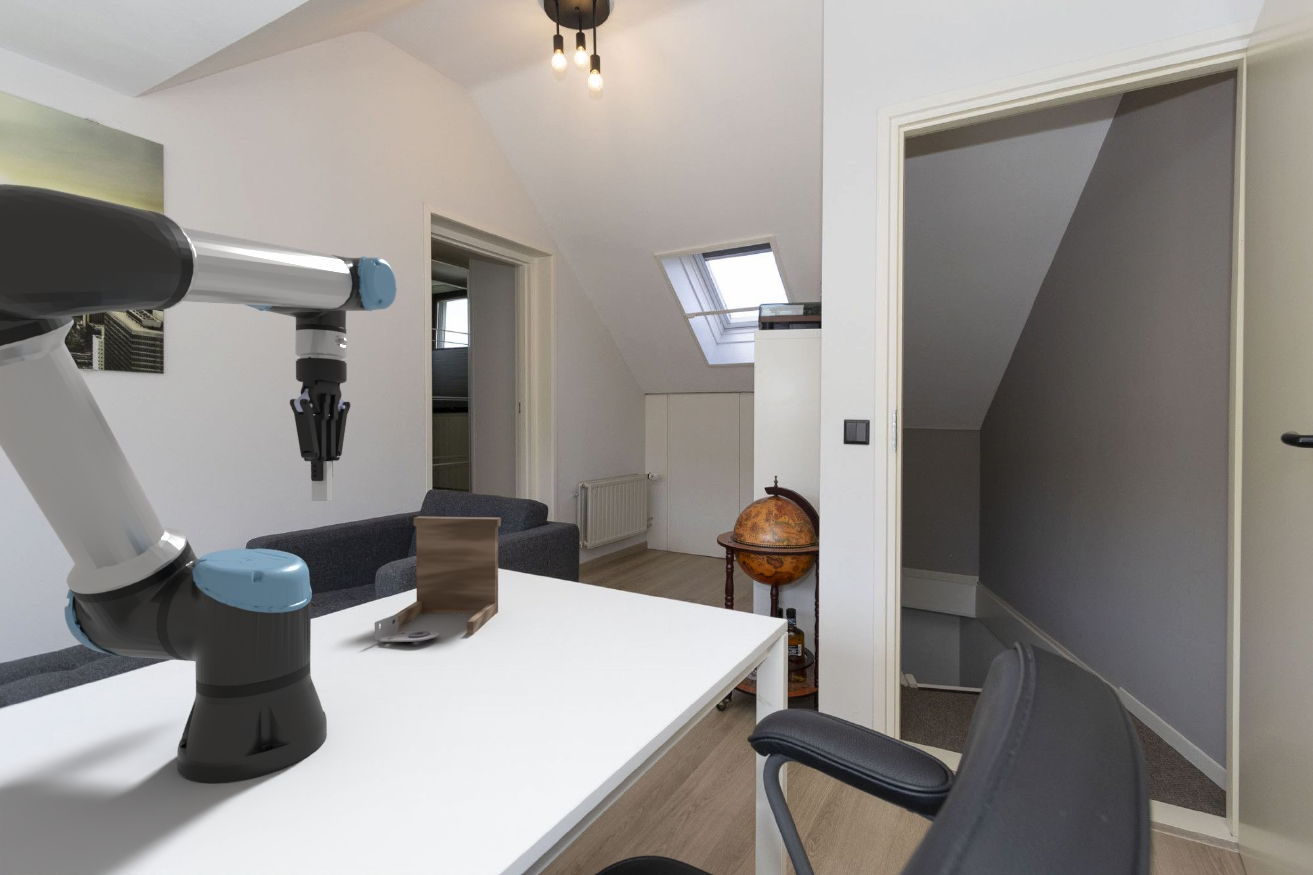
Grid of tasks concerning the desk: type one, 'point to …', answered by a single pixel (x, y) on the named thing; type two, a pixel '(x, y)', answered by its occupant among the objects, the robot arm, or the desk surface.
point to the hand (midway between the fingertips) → (322, 500)
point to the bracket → (390, 634)
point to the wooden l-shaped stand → (456, 569)
